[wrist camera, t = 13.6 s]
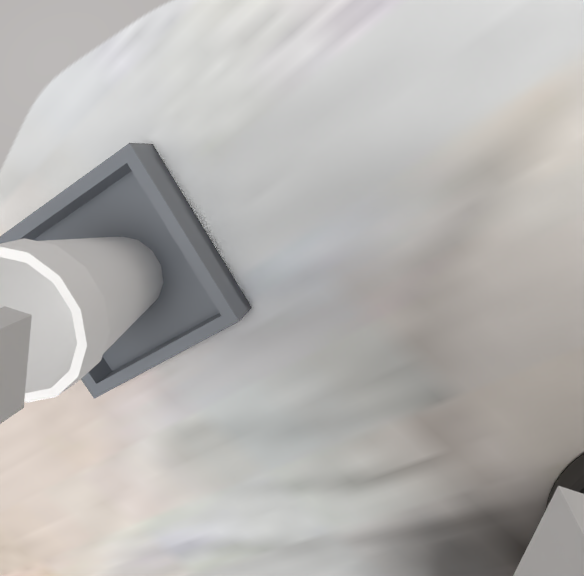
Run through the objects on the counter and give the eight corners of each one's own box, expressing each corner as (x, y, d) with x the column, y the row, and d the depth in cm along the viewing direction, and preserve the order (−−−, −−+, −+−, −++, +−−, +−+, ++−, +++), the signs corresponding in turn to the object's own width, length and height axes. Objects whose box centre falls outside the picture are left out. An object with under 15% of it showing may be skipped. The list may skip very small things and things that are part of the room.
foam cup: (129, 349, 42) (21, 429, 30) (55, 268, 41) (-87, 315, 29) (203, 281, 39) (118, 339, 27) (125, 193, 38) (0, 210, 26)
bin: (251, 307, 40) (239, 321, 37) (116, 380, 44) (94, 398, 41) (152, 144, 38) (129, 143, 35) (21, 237, 42) (-11, 244, 39)
